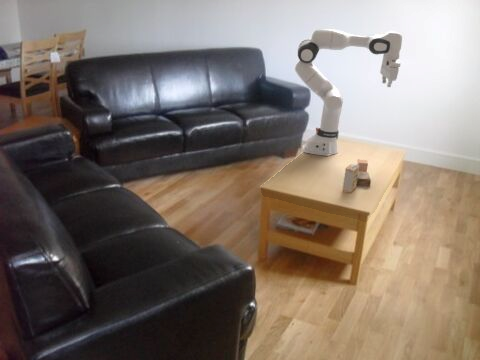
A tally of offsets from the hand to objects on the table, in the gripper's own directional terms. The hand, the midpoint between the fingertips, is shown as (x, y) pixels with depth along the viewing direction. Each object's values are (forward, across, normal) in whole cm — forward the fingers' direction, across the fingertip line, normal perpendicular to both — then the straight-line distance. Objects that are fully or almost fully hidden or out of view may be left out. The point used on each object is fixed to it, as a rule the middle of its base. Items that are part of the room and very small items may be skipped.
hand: (386, 85), depth 284 cm
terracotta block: (+45, +27, -15) cm, 54 cm away
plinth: (+45, +39, -19) cm, 63 cm away
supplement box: (+45, +50, -27) cm, 73 cm away
